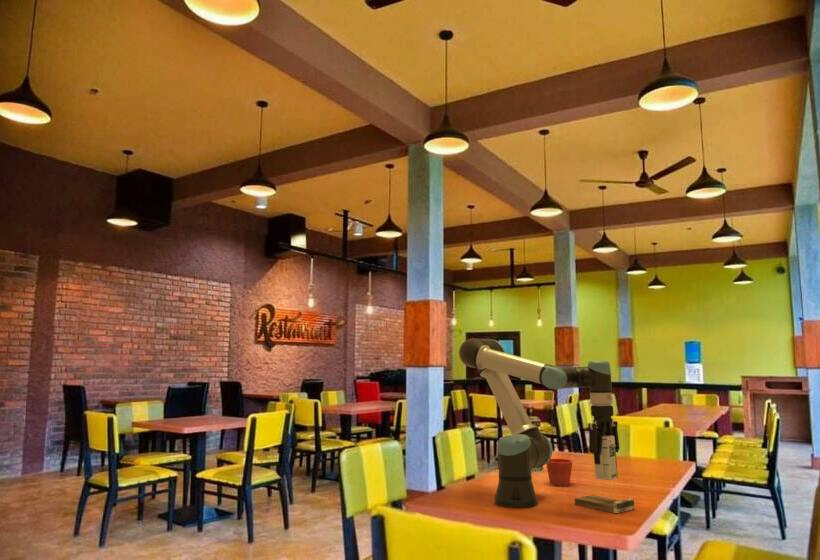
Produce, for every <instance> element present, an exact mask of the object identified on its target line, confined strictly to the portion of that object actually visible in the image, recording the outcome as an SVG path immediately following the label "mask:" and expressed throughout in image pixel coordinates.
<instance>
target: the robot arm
mask: <svg viewBox="0 0 820 560" xmlns="http://www.w3.org/2000/svg"><path fill="white" fill-rule="evenodd" d="M458 356H459V359H460V361H461V362H462V364H464V365H465V366H466V367H469V368H472V369H473V368H474V369H477V372H478V373H479V375H480V377H481V378H484V379H486V382H487V384H488V386H489V388H490V390H491V392H492V394H493V396H494V399H495V401H496V402H497V405H498V407H499V410H500V411H501V413H502V415H503V419H504V420H505V422H506V424H507V427H508V428H509V432H510V433H511V434H508V435H503V436H500V438H499V439H498V441H497V464H498V483H497V488H496V493H495V494H494V504H495V505H497V506H499V507H504V508H511V509H512V508H513V509H525V508H526V509H527V508H532V507H535V506H538V502H539V501H538V496H537V495H536V491H535V488H534V484H533V481H532V478H533V477H532V473H531V469H533V468H538V467H541V466H543V467H544V466H545V465H546V463H548V462H549V460H550V459H552V457H553V451H554V449H553V443H552V442H551V440H550V439H549V437H547V436H546V435H542V434H543V433H542V432H541V433H542V434H541V433H540V431H539V429H538V427H537V426H535V425H533V424H532V423H531V421H530V419H529V417H528V416H529V415H528V413H527V411H526V409H525V407H524V405H523V403H522V401H521V398H520V397H519V395H518V393H517V391H516V389H515V387H514V385H513V383H512V381H511V378H510V376H512V377H514V378H515V377H516V378H520V379H521V380H522V379H523V380H525V381H528V382H529V381H530V382H533V383H535V384H540V385H543V386H545V387H546V388H547V389H550V390H562V389H574V388H578V389H579V388H581V389H582V388H583V389H584V388H585V389H588V388H589V400H590V404H591V406H590V415H591V416H592V417H593V421H592V422H591V423H590V422H589V423H588V424H587V425H588V426H587V427H588V437H589V438H588V440H589V441H588V443H589V444H588V450H589V453H590V454H592V455H593V462H595V463H594V471H595V470H596V474H604V471H603V455H602V454H601V447H602V436H603V435H613V436H614V437H615V448H616V453H619V450H620V440H619V432H618V424H619V423H618V421H617V420H613V419H612V417H613V416H614V415H615V413H614V405H612V404H613V403H614V402H613V389H612V387H613V386H612V372H611V370H612V369H611V364H610V362H609V361H607V360H593V361H592V360H590V361H588V363H587V366H557V365H556V366H555V365H551V364H548V363H545V362H540V361H536V360H533V359H529V358H526V357H522V356H519V355H515V354H510V353H507V352H506V351H505V347H504V346H503V345H502V343H500V342H499V341H497V340H496V339H492V338H474V337H473V338H469V339H465V341H464V342H462V343H461V345H460V346H459V351H458ZM597 450H598V451H597Z"/></svg>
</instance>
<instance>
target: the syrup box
mask: <svg viewBox="0 0 820 560" xmlns="http://www.w3.org/2000/svg"><path fill="white" fill-rule="evenodd" d="M615 446H616V445H615V437H614V436H613V435H603V436H602V447H601V454H602V455H603V471H604V474H596V470H595V469H594V473H595V474H594V475H595V479H597V480H604V481H605V480H606V481H613V480H616V479H618V478H619V477H618V461H617V452H616V448H615ZM597 451H598V450H597ZM593 462H594V461H593ZM594 464H595V462H594Z"/></svg>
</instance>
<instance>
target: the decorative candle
mask: <svg viewBox="0 0 820 560" xmlns="http://www.w3.org/2000/svg"><path fill="white" fill-rule="evenodd" d="M528 417H529V419H530V421H531V423H532V424H533V425H535V426H537V427H538V429H539V431H540V433H541V434H542V435H543V433H542V432H543V430H544V429H542V425H541V419H540V417H538V416H536V415H534V416H532V415H528ZM543 473H544V465H543V466H541V467H538V468H533V469H531V474H543Z"/></svg>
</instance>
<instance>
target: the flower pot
mask: <svg viewBox="0 0 820 560" xmlns="http://www.w3.org/2000/svg"><path fill="white" fill-rule="evenodd" d="M545 465H546V469H547V476H548V479H549V484H550V485H551V484H552V486H555V485H557V487H567V485H568V486H570V482H571V475H572V468H573V461H572V460H571V459H568V458H566V459H565V458H551V459H550V460H549V462H548V463H546V464H545Z"/></svg>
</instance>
